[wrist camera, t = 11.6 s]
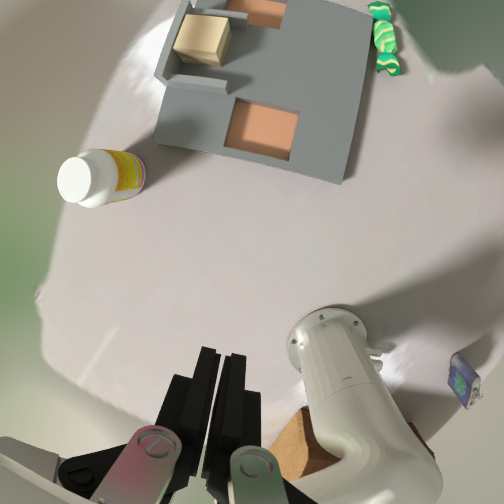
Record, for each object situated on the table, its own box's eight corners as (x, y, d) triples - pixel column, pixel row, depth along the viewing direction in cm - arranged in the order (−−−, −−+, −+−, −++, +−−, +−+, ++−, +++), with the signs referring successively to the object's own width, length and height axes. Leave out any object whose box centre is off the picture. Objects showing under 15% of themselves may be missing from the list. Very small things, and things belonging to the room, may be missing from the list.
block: (231, 35, 29) (227, 18, 24) (221, 67, 30) (215, 52, 26) (194, 31, 29) (186, 14, 24) (183, 62, 30) (173, 48, 25)
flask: (450, 355, 44) (477, 386, 33) (461, 349, 44) (489, 379, 33) (446, 386, 46) (468, 417, 36) (456, 380, 46) (480, 410, 35)
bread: (372, 464, 53) (387, 512, 37) (262, 453, 51) (262, 514, 35) (417, 417, 48) (444, 468, 33) (300, 401, 46) (312, 473, 31)
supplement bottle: (129, 142, 35) (78, 132, 23) (156, 177, 37) (112, 180, 24) (97, 174, 37) (41, 179, 24) (123, 209, 38) (72, 225, 25)
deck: (367, 24, 30) (385, 2, 23) (336, 183, 36) (354, 186, 29) (208, -11, 29) (200, -38, 22) (158, 144, 35) (136, 138, 28)
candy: (402, 77, 31) (399, 66, 28) (380, 76, 33) (374, 66, 30) (392, 13, 28) (387, -1, 25) (372, 14, 30) (365, 1, 27)
